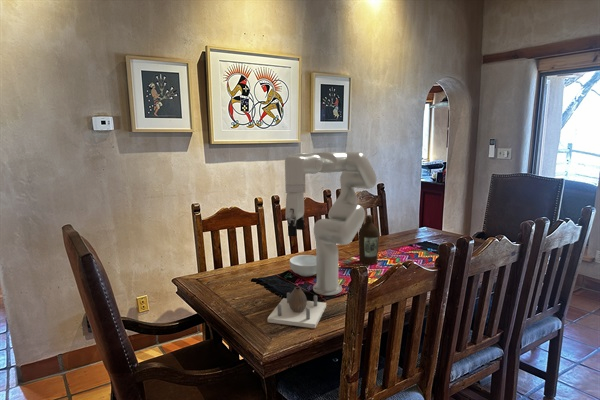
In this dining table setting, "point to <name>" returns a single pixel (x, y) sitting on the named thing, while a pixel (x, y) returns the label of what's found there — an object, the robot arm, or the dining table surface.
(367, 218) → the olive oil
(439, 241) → the dining table surface
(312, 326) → the stand
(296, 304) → the vase
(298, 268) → the cereal bowl
